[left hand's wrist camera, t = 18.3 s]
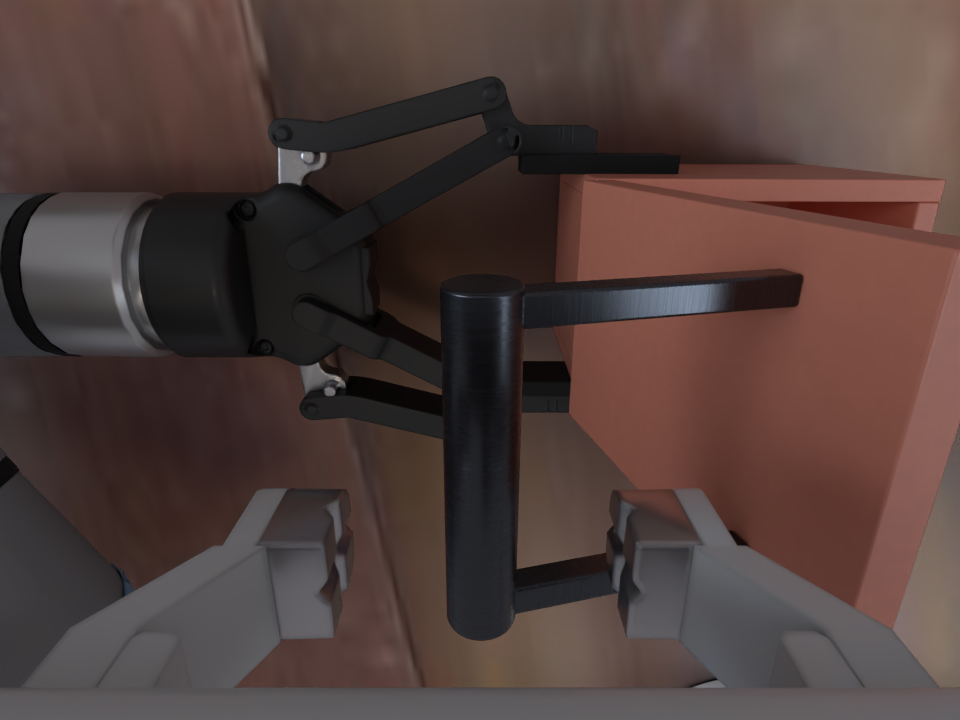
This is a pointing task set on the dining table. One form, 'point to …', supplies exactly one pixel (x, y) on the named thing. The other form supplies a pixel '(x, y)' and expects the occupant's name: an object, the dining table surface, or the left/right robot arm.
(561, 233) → the chest
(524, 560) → the dining table surface
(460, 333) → the lid
